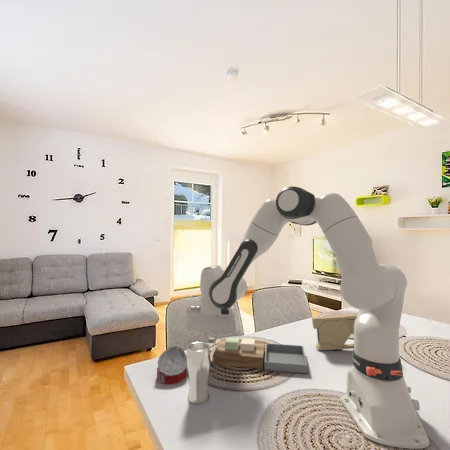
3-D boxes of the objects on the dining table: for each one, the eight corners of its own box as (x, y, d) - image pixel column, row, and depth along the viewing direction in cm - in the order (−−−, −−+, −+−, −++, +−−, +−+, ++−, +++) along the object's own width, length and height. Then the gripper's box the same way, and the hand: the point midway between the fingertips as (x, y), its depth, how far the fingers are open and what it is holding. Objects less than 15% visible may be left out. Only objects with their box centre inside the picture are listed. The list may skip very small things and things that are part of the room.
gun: (376, 349, 113) (372, 312, 114) (380, 353, 110) (376, 315, 110) (315, 352, 116) (311, 316, 116) (317, 356, 112) (313, 318, 113)
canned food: (186, 385, 96) (199, 362, 95) (167, 398, 87) (181, 372, 86) (164, 363, 101) (176, 340, 100) (144, 373, 92) (157, 348, 91)
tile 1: (238, 350, 104) (238, 343, 104) (224, 349, 105) (224, 342, 105) (239, 344, 109) (239, 338, 109) (227, 343, 110) (227, 337, 110)
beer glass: (188, 407, 77) (188, 352, 77) (185, 392, 84) (185, 343, 84) (212, 402, 79) (212, 349, 79) (207, 389, 86) (207, 340, 86)
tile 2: (254, 351, 103) (254, 344, 103) (240, 350, 104) (240, 343, 104) (255, 345, 108) (255, 339, 108) (242, 344, 109) (242, 338, 109)
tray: (307, 374, 94) (307, 365, 94) (264, 370, 97) (264, 361, 97) (302, 353, 110) (302, 345, 110) (266, 350, 113) (265, 343, 113)
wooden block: (263, 369, 98) (263, 357, 98) (213, 364, 101) (213, 353, 101) (264, 351, 112) (264, 341, 112) (220, 348, 115) (220, 338, 115)
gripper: (183, 308, 107) (183, 344, 107) (236, 310, 104) (236, 348, 104) (188, 304, 114) (188, 338, 113) (238, 306, 110) (238, 341, 110)
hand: (211, 342), depth 108 cm, fingers closed
